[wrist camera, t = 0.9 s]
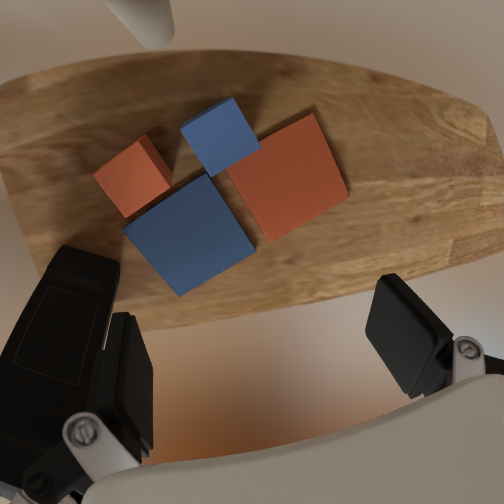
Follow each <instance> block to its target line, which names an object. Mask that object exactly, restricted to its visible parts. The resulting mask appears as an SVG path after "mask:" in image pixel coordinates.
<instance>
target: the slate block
mask: <svg viewBox="0 0 504 504" xmlns="http://www.w3.org/2000/svg"><path fill="white" fill-rule="evenodd" d="M180 130H181V131H182V133H183V134H184V136H185V138H186V139H187V141H188V142H189V144H190V145H191V147H192V148H193V150H194V151H195V153H196V155H197V156H198V158H199V159H200V161H201V162H202V164H203V165H204V167H205V169H206V170H207V172H208V173H209V175H210V176H211V177H213V176H214V175H216V174H218V173H219V172H221V171H223V170H224V169H226V168H228V167H229V166H231V165H233V164H234V163H236V162H238V161H239V160H241V159H243V158H245V157H246V156H248V155H250V154H251V153H253V152H255V151H257V150H258V149H260V148H262V147H261V145H260V143H259V141H258V140H257V138H256V136H255V134H254V132H253V131H252V129H251V127H250V125H249V124H248V122H247V120H246V119H245V117H244V115H243V113H242V112H241V110H240V108H239V107H238V105H237V103H236V101H235V100H234V98H225V99H223V100H221V101H220V102H218V103H216V104H214V105H213V106H211V107H209V108H207V109H206V110H204V111H202V112H201V113H199V114H197V115H196V116H194V117H192V118H191V119H189V120H187V121H186V122H184V123H183V124H181V128H180Z"/></svg>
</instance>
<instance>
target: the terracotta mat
mask: <svg viewBox="0 0 504 504" xmlns="http://www.w3.org/2000/svg"><path fill="white" fill-rule="evenodd" d="M259 143H260V145H261V147H262V148H260V149H258V150H257V151H255V152H253V153H251V154H250V155H248V156H246V157H245V158H243V159H241V160H239V161H238V162H236V163H234V164H233V165H231V166H229V167H228V168H226V169H225V170H226V171H227V173H228V174H229V176H230V178H231V179H232V181H233V183H234V184H235V186H236V187H237V189H238V191H239V192H240V194H241V196H242V197H243V199H244V201H245V202H246V204H247V205H248V207H249V209H250V210H251V212H252V214H253V215H254V217H255V219H256V220H257V222H258V224H259V225H260V227H261V229H262V230H263V232H264V233H265V235H266V237H267V238H268V240H269V242H270V243H272V242H273V241H275V240H277V239H278V238H280V237H282V236H283V235H285V234H287V233H288V232H290V231H292V230H294V229H295V228H297V227H299V226H300V225H302V224H304V223H305V222H307V221H309V220H310V219H312V218H314V217H316V216H317V215H319V214H321V213H322V212H324V211H326V210H327V209H329V208H331V207H332V206H334V205H336V204H338V203H339V202H341V201H343V200H344V199H346V198H348V197H349V194H348V191H347V189H346V186H345V184H344V182H343V179H342V177H341V174H340V172H339V169H338V167H337V165H336V162H335V160H334V158H333V155H332V153H331V151H330V149H329V146H328V144H327V142H326V140H325V137H324V135H323V133H322V131H321V129H320V127H319V125H318V122H317V120H316V118H315V116H314V114H313V113H310V114H308V115H306V116H304V117H302V118H300V119H298V120H296V121H294V122H292V123H290V124H288V125H287V126H285V127H283V128H281V129H279V130H277V131H275V132H274V133H272V134H270V135H268V136H266V137H264V138H263V139H261V140H259Z"/></svg>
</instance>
